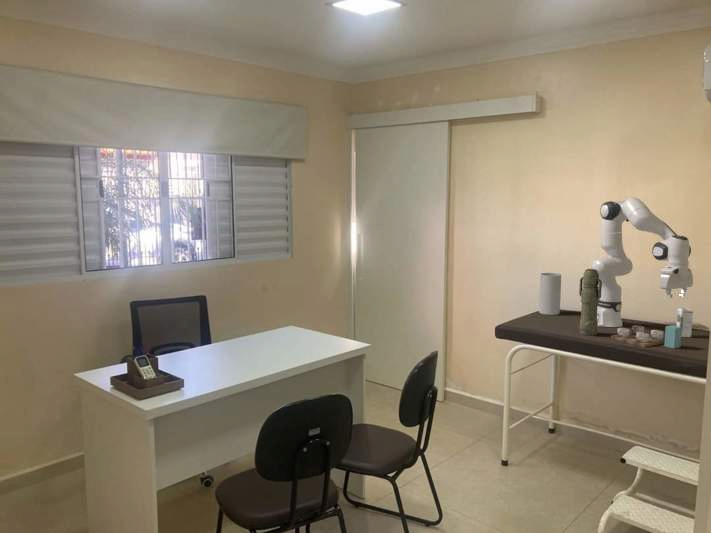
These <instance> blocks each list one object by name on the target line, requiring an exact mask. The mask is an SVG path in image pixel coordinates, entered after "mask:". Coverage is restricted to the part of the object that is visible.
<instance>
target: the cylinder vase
mask: <svg viewBox="0 0 711 533" xmlns="http://www.w3.org/2000/svg"><path fill="white" fill-rule="evenodd" d="M539 276H540V277H539V296H538V297H539V298H538V299H539V300H538V301H539V303H538V304H539V305H538V313H539V314H541V315H546V316H558V315H560V312H561V292H562V274H561V273H554V272H544V273H543V272H542V273H540V274H539Z"/></svg>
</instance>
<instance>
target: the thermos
mask: <svg viewBox="0 0 711 533" xmlns="http://www.w3.org/2000/svg"><path fill="white" fill-rule="evenodd" d="M601 290H602V281H601V280H600V279H599V274H598V271H597V270H596V269H591V268H587V269H585V270H584V272H583V276H582V277H581V278H580V279H579V297H580V302H581V312H580V314H581V315H580V320H579V334H580V335H583V336H586V337H587V336H590V337H592V336H593V337H594V336H598V329H599V328H598V327H599V326H598V322H597V307H598V302H599V300H600V298H601Z"/></svg>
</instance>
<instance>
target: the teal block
mask: <svg viewBox="0 0 711 533" xmlns="http://www.w3.org/2000/svg"><path fill="white" fill-rule="evenodd" d="M664 329H665V332H664V339H665V344H664V345H663V346H664V347H666V348H669V349H670V348H671V349H678V348H681V346H682V345H681V344H682V337H681V333H682V327H678V326H676V325H673V324H672V325H671V324H670V325H665V328H664Z"/></svg>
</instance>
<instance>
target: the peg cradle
mask: <svg viewBox="0 0 711 533" xmlns="http://www.w3.org/2000/svg"><path fill="white" fill-rule="evenodd" d="M616 333H617V334H613V335H611V336H610V339H611V340H616V341H618V342H624V343H627V344H631V345H635V346H638V347H642V348H648V347H652V346H657V345H658V346H659V345H663V344H665V337H664V335H665V332H664V331H663V330H659V329H651V331H650V334H649V333H647V332H645V326H643V325H632V327H631V330H630V328H627V327H617V332H616Z"/></svg>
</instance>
